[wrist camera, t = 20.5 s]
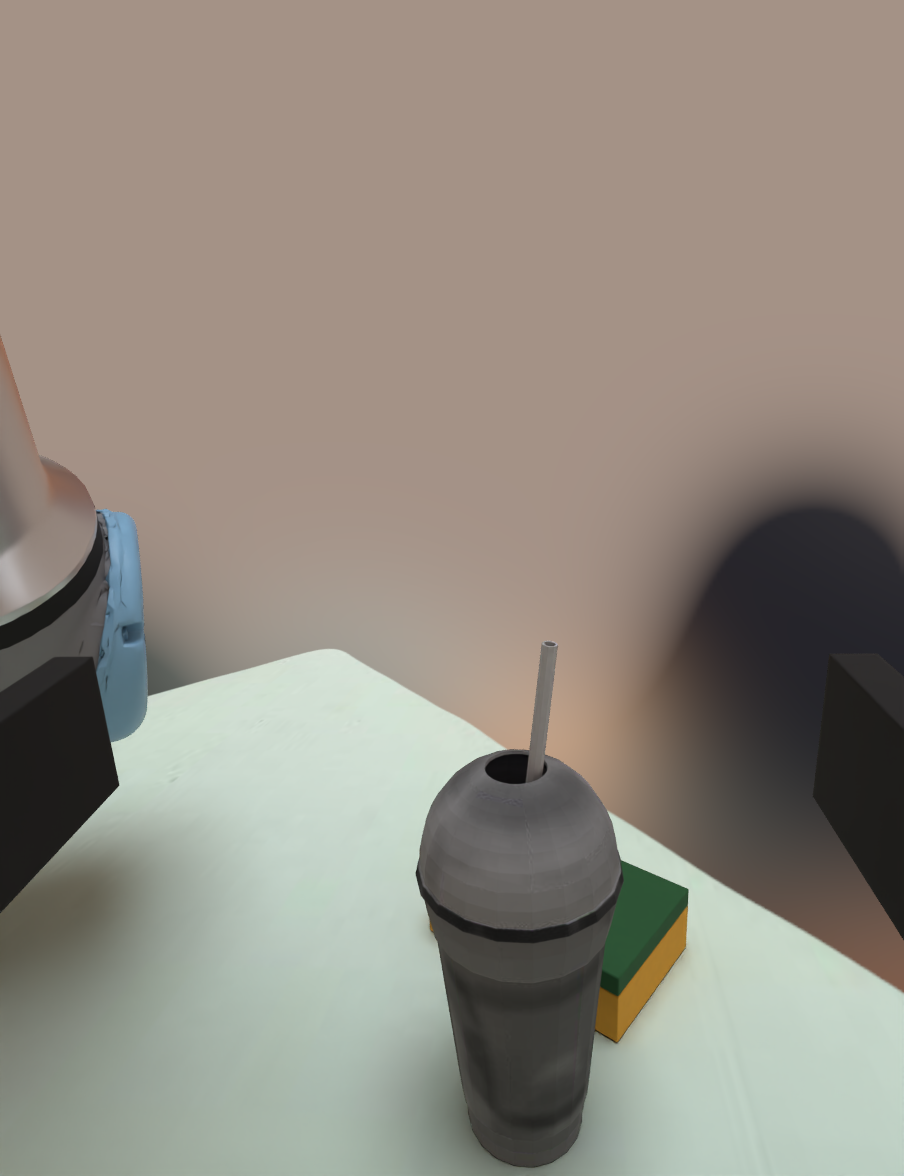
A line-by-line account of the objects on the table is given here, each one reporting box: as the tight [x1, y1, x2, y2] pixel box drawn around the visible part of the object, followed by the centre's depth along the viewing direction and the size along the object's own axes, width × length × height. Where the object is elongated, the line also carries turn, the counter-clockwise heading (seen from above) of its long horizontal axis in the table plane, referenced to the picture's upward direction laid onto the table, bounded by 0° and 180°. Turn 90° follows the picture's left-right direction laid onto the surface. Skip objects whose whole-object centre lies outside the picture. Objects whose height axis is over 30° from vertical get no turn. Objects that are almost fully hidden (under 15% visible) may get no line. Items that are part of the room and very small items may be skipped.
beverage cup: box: [416, 641, 624, 1167], centre depth 27 cm, size 7×7×20 cm
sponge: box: [430, 860, 688, 1042], centre depth 38 cm, size 11×7×4 cm, turn 49°
